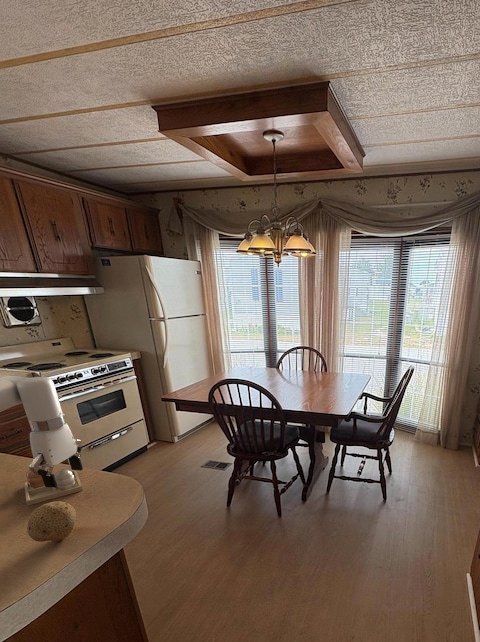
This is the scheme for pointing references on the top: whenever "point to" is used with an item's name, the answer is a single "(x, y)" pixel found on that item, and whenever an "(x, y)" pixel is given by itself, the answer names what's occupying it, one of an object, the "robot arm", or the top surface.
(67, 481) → the white egg
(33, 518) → the natural sponge
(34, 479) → the brown egg
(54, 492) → the cream divided tray
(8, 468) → the top surface
